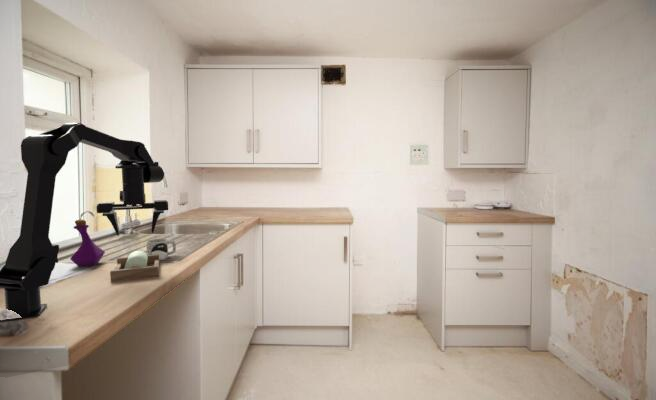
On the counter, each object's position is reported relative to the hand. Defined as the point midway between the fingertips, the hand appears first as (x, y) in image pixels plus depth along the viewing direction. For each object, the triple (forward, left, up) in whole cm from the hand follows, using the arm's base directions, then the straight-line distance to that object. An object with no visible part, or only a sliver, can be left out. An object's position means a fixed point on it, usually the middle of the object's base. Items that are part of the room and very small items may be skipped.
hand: (135, 234), depth 104 cm
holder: (0, 0, -12) cm, 12 cm away
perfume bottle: (+15, +15, -12) cm, 24 cm away
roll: (0, 0, -12) cm, 12 cm away
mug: (+15, -7, -12) cm, 20 cm away
